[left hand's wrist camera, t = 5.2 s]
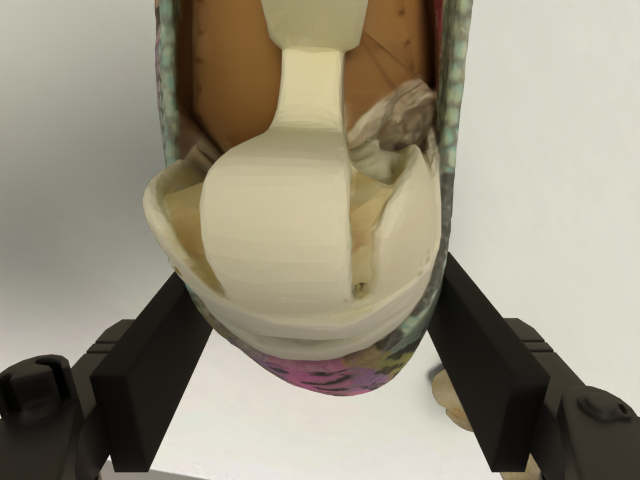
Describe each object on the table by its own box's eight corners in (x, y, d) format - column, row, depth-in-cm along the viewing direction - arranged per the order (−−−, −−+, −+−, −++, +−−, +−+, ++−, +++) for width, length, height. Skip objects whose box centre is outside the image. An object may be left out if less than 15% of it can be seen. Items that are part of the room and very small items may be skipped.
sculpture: (416, 366, 29) (503, 616, 15) (502, 321, 28) (686, 550, 14) (451, 415, 31) (559, 679, 17) (535, 374, 30) (728, 626, 16)
